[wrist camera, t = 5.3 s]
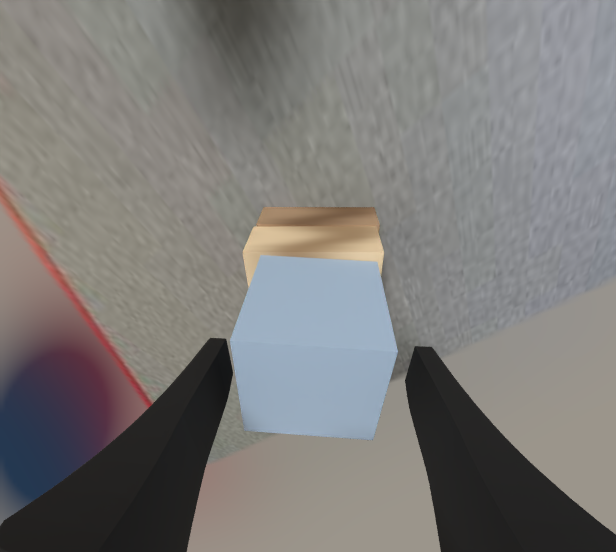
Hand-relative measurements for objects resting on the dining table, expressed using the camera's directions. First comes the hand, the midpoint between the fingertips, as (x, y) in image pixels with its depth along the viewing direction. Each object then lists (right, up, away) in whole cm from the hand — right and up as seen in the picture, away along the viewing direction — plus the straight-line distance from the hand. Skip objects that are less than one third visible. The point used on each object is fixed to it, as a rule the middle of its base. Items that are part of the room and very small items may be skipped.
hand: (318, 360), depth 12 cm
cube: (0, +2, +3) cm, 3 cm away
